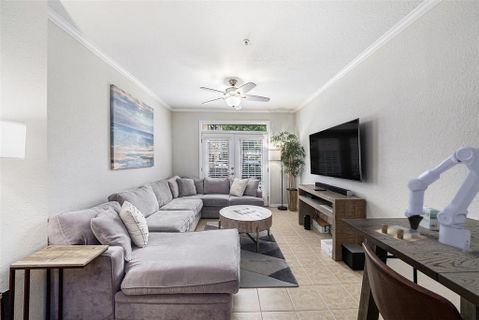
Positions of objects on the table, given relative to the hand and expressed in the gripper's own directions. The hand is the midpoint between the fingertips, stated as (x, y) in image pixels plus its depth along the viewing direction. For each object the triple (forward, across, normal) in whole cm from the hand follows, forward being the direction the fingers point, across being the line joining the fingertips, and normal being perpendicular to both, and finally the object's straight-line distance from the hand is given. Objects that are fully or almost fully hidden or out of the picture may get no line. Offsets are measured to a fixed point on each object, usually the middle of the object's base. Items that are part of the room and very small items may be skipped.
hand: (413, 229), depth 109 cm
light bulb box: (+2, -21, -4) cm, 21 cm away
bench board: (+2, +12, 0) cm, 13 cm away
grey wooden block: (+1, +9, 0) cm, 9 cm away
